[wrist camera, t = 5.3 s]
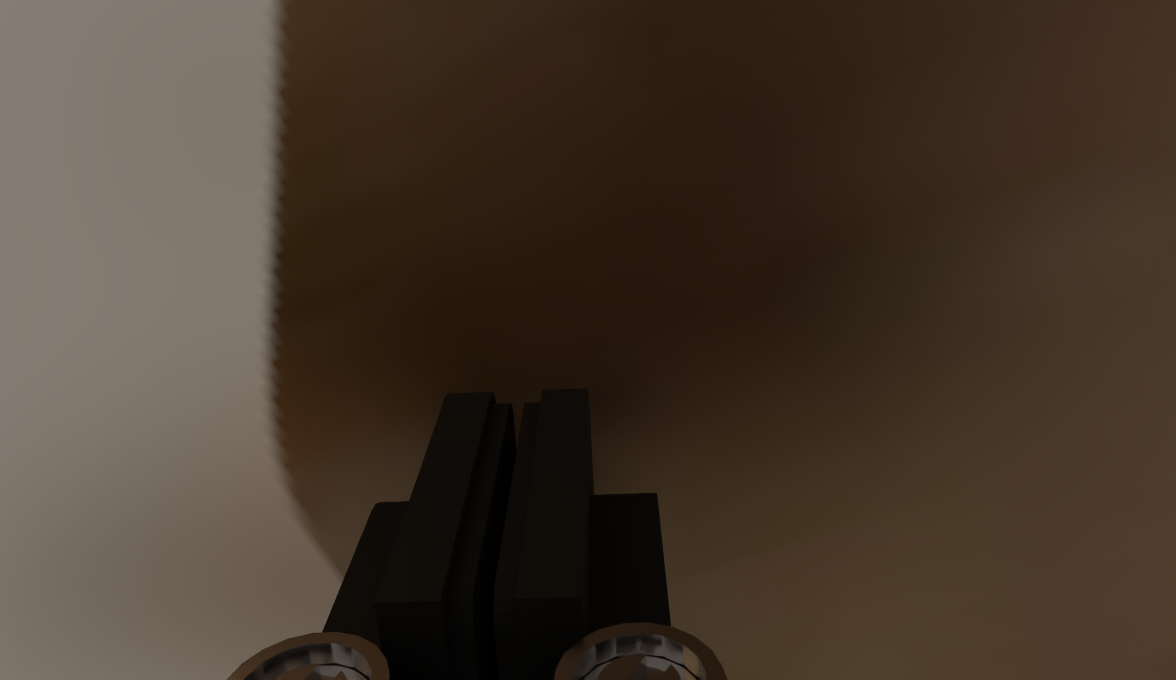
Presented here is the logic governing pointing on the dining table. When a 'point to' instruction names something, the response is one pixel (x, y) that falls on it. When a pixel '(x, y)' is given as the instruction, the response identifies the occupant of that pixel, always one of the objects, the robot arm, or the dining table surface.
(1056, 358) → the dining table surface
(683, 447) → the dining table surface
